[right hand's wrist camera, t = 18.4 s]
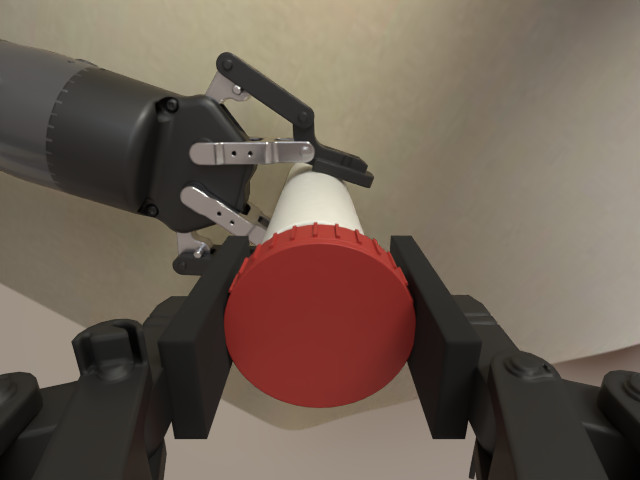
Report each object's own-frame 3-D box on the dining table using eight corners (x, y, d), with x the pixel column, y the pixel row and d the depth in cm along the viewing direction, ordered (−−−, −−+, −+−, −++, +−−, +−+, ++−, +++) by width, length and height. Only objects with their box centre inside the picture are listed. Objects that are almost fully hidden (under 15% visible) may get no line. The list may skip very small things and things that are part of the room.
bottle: (336, 216, 31) (361, 364, 13) (282, 204, 31) (236, 340, 13) (350, 162, 29) (398, 250, 12) (293, 149, 29) (258, 219, 12)
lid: (201, 260, 11) (184, 283, 10) (373, 193, 11) (382, 208, 9) (276, 393, 13) (270, 431, 12) (427, 344, 12) (442, 377, 11)
